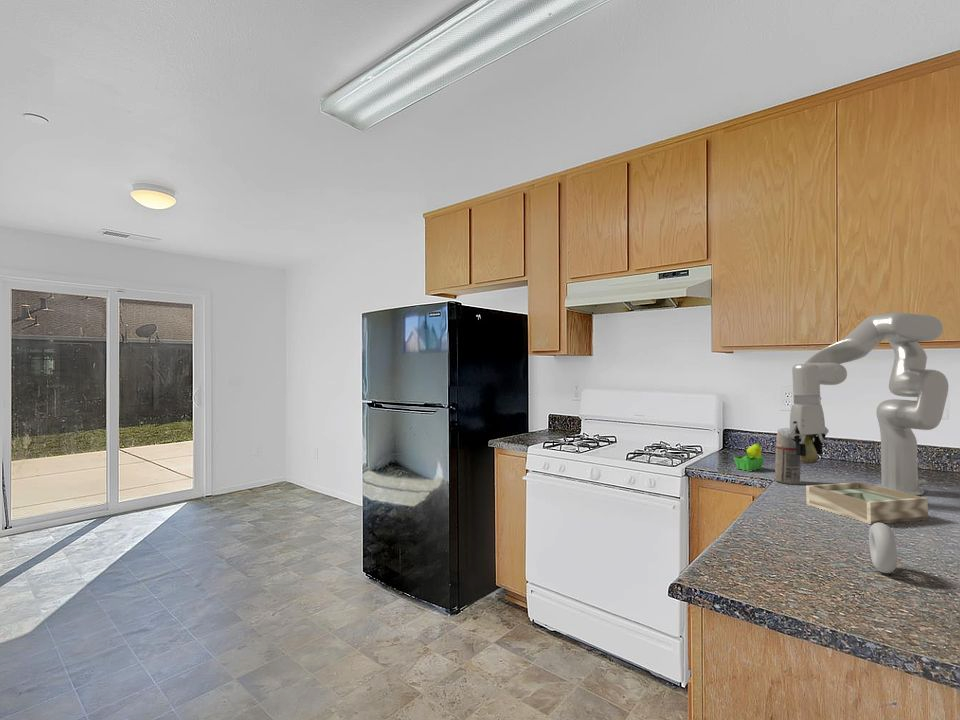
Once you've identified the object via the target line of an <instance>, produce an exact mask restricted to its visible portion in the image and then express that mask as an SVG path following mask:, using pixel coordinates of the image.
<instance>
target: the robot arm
mask: <svg viewBox="0 0 960 720" xmlns="http://www.w3.org/2000/svg"><path fill="white" fill-rule="evenodd" d="M943 332H944V326H943V323H942V321H941V320H940V319H939V318H938V317H936V316H933V315H930V314H929V315H927V314H917V313H909V312H888V313H881V314H880V313H879V314H874V315H870V316H868V317H866V318H865V319H864V320H862V321H861V322H860V323H859V324H858V325H857V326H856V327H855V328H854V329H852V330H851V331H850V332H849V333H848V334H847V335H846V336H845V337H844V338H843V339H841V340H839V341H837V342H834V343H832V344H830V345H829V346H827V347H824V348H823V349H821V350H819V351H817V352H815V353H814V354H813V355H812V356H811V357H809V358H808V359H807V360H806V361H805V362H804V363H798V364H794V365H793V366H792V369H791V370H792V393H793V404H791V408H790V415H789V429H790V430H789V431H788V435H789V436H790V437H791V438H792V439H793V441H794V443H796V454H797V455H800V456H806V448H805V444H803V443H804V440H805V436H806V435H813V444H814V447H815V449H816V451H817V454H818V456H819V455H820V456H822V455H823V443H824V442H825V441H824V439H825V438H826V436H827V435H828V433H829V429H828V428H827V426H826V424H825V415H824V410H823V405H822V403H821V400H822V397H821V385H824V386H826V385H827V386H836V385H839V384H841V383H843V382H845V381H846V379H847V376H848V372H847V368H846V367H845V366H844V365H843V364H846V363H849V362H853V361H856V360H860V359H862V358H864V357H866V356H868V354H870V353H871V352H872V351H873V350H874V349H875V348H876V347H877V346H878V345H879V344H880V343H881V342H883V341H884V340H886V341H887V342H888V344H889V345H890V347H891V348H892V350H893V354H894V361H893V365H892V367H891V368H892V369H891V373H890V376H889V377H890V378H889V381H888V382H889V383H888V389H889V391H890V393H891V394H893V395H895V396H898V397H904V398H917V399H916V400H910V399H898V398H895V399H894V398H892V399H886V400H883V401H882V402H880V403H879V404H878V406H877V407H876V417H877V422H878V426H879V432H880V469H881V472H880V473H881V475H880V476H881V477H880V478H881V483H877V484H875V486H876V487H881V488H885V489H889V490H894V491H898V492H902V493H907V494H911V495H916V496H923V495H924V494H925V491H924V489H922V488H921V487H920V486H927V485H928V481H927V480H926V479H919V476H918V475H919V473H918V440H917V438H916V435H915V433H914V432H913V430H920V431H921V430H922V431H930V430H933V429H935V428H937V427H938V426H939V425H940V423H941V420H942V419H943V416H944V411H945V406H946V402H947V398H948V393H949V381H948V379H947V376H946V375H945V374H944V373H943V372H942V371H939V370H936V369H926V366H927V361H928V356H927V353H926V351H925V350H924V348H923V347H922V345H920V343H923V342H932V341H936V340H937V339H939V338H940V337H941V336H942V334H943ZM912 429H913V430H912ZM795 434H796V435H795ZM799 436H801V438H799Z"/></svg>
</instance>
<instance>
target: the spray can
mask: <svg viewBox="0 0 960 720" xmlns="http://www.w3.org/2000/svg"><path fill="white" fill-rule="evenodd" d="M789 430H790V427H782V428H778V429H777V432H776V442H775V462H774V463H775V465H774V466H775V467H774V468H775V471H774V473H775V479H774V481H776V482H779V483H782V484H788V485H789V484H790V485H799V483H800V484H801V467H802V465H801V464H802V462H801V460H800V455H797V454H796V443H794V441H793V439H792V438H791V437H790V436H789V435H788V431H789ZM795 435H796V434H795ZM799 438H801V436H799Z"/></svg>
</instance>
